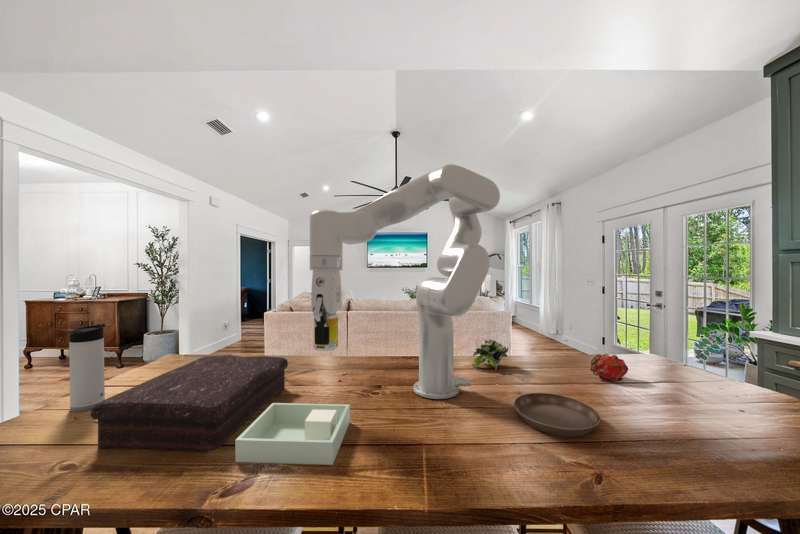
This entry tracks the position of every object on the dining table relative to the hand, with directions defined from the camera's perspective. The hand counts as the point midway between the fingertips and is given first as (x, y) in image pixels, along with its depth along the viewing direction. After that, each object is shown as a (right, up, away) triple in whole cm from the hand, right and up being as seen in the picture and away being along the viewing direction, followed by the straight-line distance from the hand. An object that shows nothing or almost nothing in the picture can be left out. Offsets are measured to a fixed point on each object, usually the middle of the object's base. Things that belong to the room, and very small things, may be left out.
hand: (325, 340), depth 78 cm
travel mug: (-60, -18, +4) cm, 63 cm away
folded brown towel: (-28, -18, +1) cm, 33 cm away
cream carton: (+2, -17, -12) cm, 21 cm away
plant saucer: (+53, -18, -2) cm, 56 cm away
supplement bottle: (0, -2, 0) cm, 2 cm away
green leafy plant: (+48, -17, +35) cm, 62 cm away
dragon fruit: (+82, -18, +24) cm, 87 cm away
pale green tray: (-3, -18, -12) cm, 22 cm away
